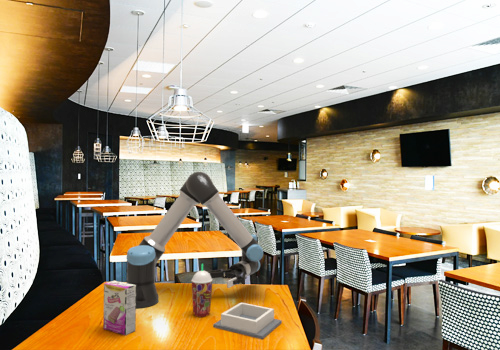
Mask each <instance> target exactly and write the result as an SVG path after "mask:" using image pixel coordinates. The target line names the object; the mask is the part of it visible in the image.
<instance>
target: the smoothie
mask: <svg viewBox="0 0 500 350" xmlns="http://www.w3.org/2000/svg"><path fill="white" fill-rule="evenodd" d="M200 269H201V270H198V271H196V272H195V273H194V274H193V276H192V279H191V280H190V281H191V295H192V298H191V299H192V311H193V313H194V316H196V317H198V318H199V317H200V318H204V317H208V316H209V315H210V312H211V304H212V292H213V291H212V290H213V280H214V278H211V275H210V274H209V273H208V272H207V271H206V270H205V269H204V263H201V268H200Z"/></svg>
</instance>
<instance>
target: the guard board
mask: <svg viewBox="0 0 500 350" xmlns="http://www.w3.org/2000/svg"><path fill="white" fill-rule="evenodd" d="M282 322H283V321H282V320H281V319H277V318H275V309H274V308H271V307H266V306H263V305H262V306H260V305H255V304H251V303H247V302H239V303H237V304H236V305H234V306H232V307H230V308H229V309H227V310H225V311H223V312H222V313H221V314H220V319H219V320H218V321H216V322H214V323H213V324H212V326H213V328H215V329H220V330H224V331H227V332H231V333H237V334H239V335H244V336H247V337H252V338H256V339H259V340H264V339H265V338H266V337H267V336H268V335H269V334H271V332H273V331H274V330H275V329H276V328H278V327H279V326H280V325H281V324H282Z"/></svg>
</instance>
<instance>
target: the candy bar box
mask: <svg viewBox="0 0 500 350" xmlns="http://www.w3.org/2000/svg"><path fill="white" fill-rule="evenodd" d="M136 311H137V308H136V285H133V284H128V283H127V282H123V281H118V280H111V281H107V282H105V283H103V328H102V329H103V330H107V331H108V332H109V331H110V332H112V333H116V334H119V335H123V336H128V335H130V334H131V333H134V332H136V319H137V318H136V314H137V313H136Z"/></svg>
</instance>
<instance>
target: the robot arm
mask: <svg viewBox="0 0 500 350" xmlns="http://www.w3.org/2000/svg"><path fill="white" fill-rule="evenodd" d="M219 194H220V191H219V190H218V189H217V188H216V186H215V184H214V183H213V181H212V179H211V177H210V176H209V174H207V173H206V172H204V171H196V172H193V173H191V174H190V175H189V176H188V178H187V179H186V181H185V182H184V183H183V184H182V186H181V187H180V189H179V196H178V197H177V198H176V199H175V201H174V202H173V203H172V205H171V206H170V208H169V209H168V210H167V211H166V213H165V214H164V216H163V217H162V218H161V220H160V221H159V222H158V223H157V225H156V226H155V228H154V229H153V230H152V232H151V233H150V235H147V236H144V238H143V239H142V240H141V241H140V243H139V244H138V245H136V246H133V247H130V248H129V249H128V250H127V254H126V283H128V284H133V285H136V309H143V308H147V307H148V308H149V307H152V306H155V305H156V304H158V302H159V299H160V298H159V297H160V295H159V293H158V292H157V287H156V286H157V285H156V283H155V281H156V280H155V279H156V278H155V277H156V276H155V275H156V274H155V273H156V269H155V268H156V265H157V263H158V261H159V260H161V258H162V256H163V255H164V253H165V251H166V248H165V246H166V245H167V244H168V242H169V241H170V239H171V238H172V237H173V236H174V234H175V233H176V232H177V230H178V229H179V227H180V226H181V225H182V223H183V222H184V220H185V219H186V217H187V216H188V215H189V214H190V213H191V210H193V208H194V207H195V206H196V205H202V206H205V207H206V208H207V210H209V212H210V213H211V214H212V215H213V217H214V218H215V219H216V220H217V221H218V223H219V225H221V226H222V228H223V229H224V230H225V231H226V232H227V234H228V235H229V236H230V238H231V239H232V240H233V241H234V242H235V243H236V244H237V246H238V248H240V250H241V261H238V262H236V263H234V264H231V265H230V266H229V268H228V269H224V268H220V269H214V270H208V271H207V272H208V273H209V274H210V275H211V278H212V279H220V278H222V279H229V280H226V288H228V289H230V288H231V287H234V286H236V285H240V284H242V285H245V284H246V279H248V277H249V276H251V275H253V274H255V273H256V272H258V271H259V270H260V268H261V262H260V261H261V259H263V257H264V250H263V247H262V246H261V245H260V244H259V243H258V236H257V235H256V234H252V233H250V232H249V231H248V229H247V228H246V227H245V226H244V224H243V223H242V221H240V219H239V218H238V216H236V214H235V213H234V212H233V211H232V209H231V208H230V206H228V205H227V204H226V202H225V201H224V199H223V198H222V197H221V196H220V195H219Z"/></svg>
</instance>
